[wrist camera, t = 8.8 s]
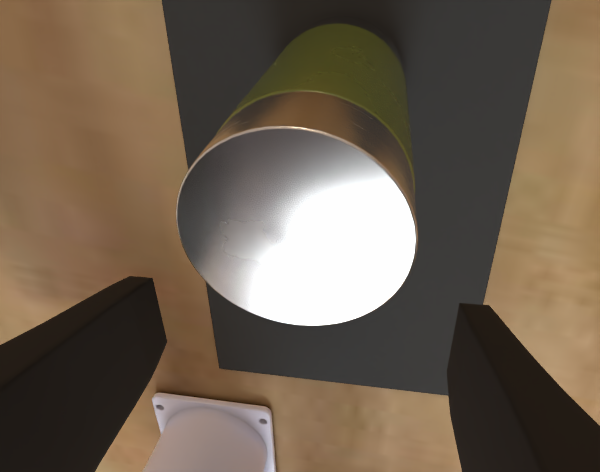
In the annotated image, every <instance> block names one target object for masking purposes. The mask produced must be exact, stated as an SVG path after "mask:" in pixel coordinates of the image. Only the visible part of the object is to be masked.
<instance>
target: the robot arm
mask: <svg viewBox="0 0 600 472" xmlns="http://www.w3.org/2000/svg"><path fill="white" fill-rule="evenodd" d="M166 343H167V339H166V335H165V331H164V326H163V322H162V317H161V313H160V309H159V304H158V300H157V295H156V291H155V287H154V282H153V278H145V277H133V276H129V277H127V278H125V279H123V280H121V281H119V282H117V283H115V284H113V285H111V286H109V287H107V288H105V289H103V290H102V291H100V292H98V293H96V294H94V295H93V296H91V297H89V298H87V299H85V300H84V301H82V302H80V303H78V304H76V305H75V306H73V307H71V308H69V309H68V310H66V311H64V312H62V313H60V314H59V315H57V316H55V317H53V318H51V319H50V320H48V321H46V322H44V323H42V324H40V325H38V326H36V327H35V328H33V329H31V330H29V331H27V332H25V333H23V334H21V335H19V336H17V337H15V338H13V339H11V340H10V341H8V342H6V343H4V344H2V345H0V472H95V470H96V469H97V467H98V465H99V463H100V462H101V460H102V458H103V457H104V455H105V454H106V452H107V450H108V449H109V447H110V445H111V444H112V442H113V441H114V439H115V437H116V436H117V434H118V432H119V431H120V429H121V428H122V426H123V424H124V423H125V421H126V419H127V418H128V416H129V415H130V413H131V411H132V410H133V408H134V406H135V405H136V403H137V401H138V400H139V398H140V396H141V395H142V393H143V391H144V390H145V388H146V386H147V385H148V383H149V381H150V380H151V378H152V375H153V373H154V371H155V369H156V367H157V365H158V362H159V360H160V358H161V355H162V353H163V351H164V348H165V346H166ZM447 383H448V395H449V405H450V415H451V420H452V425H453V430H454V435H455V440H456V444H457V449H458V454H459V459H460V463H461V468H462V472H600V426H599V425H598V424H597V423H596V422H595V421H594V420H593V419H592V418H591V417H590V416H589V415H588V414H587V413H586V412H585V411H584V410H583V409H582V408H581V407H580V406H579V405H578V404H577V403H576V402H575V401H574V400H573V399H572V398H571V397H570V396H569V395H568V394H567V393H566V392H565V391H564V390H563V389H562V388H561V387H560V386H559V385H558V384H557V383H556V381H555V380H554V379H553V378H552V377H551V376H550V375H549V374H548V373H547V372H546V371H545V369H544V368H543V367H542V366H541V365H540V364H539V363H538V362H537V361H536V360H535V358H534V357H533V356H532V355H531V354H530V353H529V352H528V350H527V349H526V348H525V347H524V346H523V345H522V344H521V342H520V341H519V340H518V339H517V338H516V336H515V335H514V334H513V333H512V332H511V331H510V329H509V328H508V327H507V326H506V325H505V323H504V322H503V321H502V320H501V319H500V318H499V316H498V315H497V314H496V313H495V312H494V311H493V309H492V308H491V307H490V306H489V305H478V304H466V303H459V308H458V313H457V318H456V324H455V329H454V335H453V340H452V345H451V351H450V356H449V361H448V367H447ZM152 403H153V406H154V410H155V414H156V417H157V421H158V424H159V428H160V432H161V436H160V438H159V440H158V442H157V444H156V446H155V448H154V450H153V452H152V454H151V456H150V458H149V460H148V462H147V464H146V465H145V467H144V469H143V471H142V472H276V461H275V449H274V437H273V425H272V413H271V410H270V409H269V408H267V407H265V406H259V405H251V404H244V403H236V402H228V401H221V400H213V399H205V398H198V397H190V396H182V395H175V394H167V393H155V395H154V396H153V398H152Z"/></svg>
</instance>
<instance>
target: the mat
mask: <svg viewBox="0 0 600 472" xmlns="http://www.w3.org/2000/svg"><path fill="white" fill-rule="evenodd" d="M162 4H163V11H164V17H165V23H166V30H167V36H168V43H169V49H170V55H171V62H172V68H173V75H174V81H175V87H176V94H177V100H178V107H179V113H180V119H181V126H182V132H183V138H184V145H185V151H186V158H187V164H188V170H189V168H190V167H191V166H192V164H193V163H194V161H195V160H196V159H197V158H198V156H199V155H200V154H201V153H202V151H203V150H204V149H205V148H206V146H207V145H208V144H209V143H210V142H211V140H212V139H213V138H214V137H215V135H216V134H217V132H218V130H219V129H220V128H221V126H222V125H223V123H224V122H225V121H226V120H227V118H228V117H229V116H230V115H231V113H232V112H233V111H234V110H235V109H236V107H237V106H238V105H239V104H240V103H241V101H242V100H243V99H244V98H245V96H246V95H247V94H248V93H249V92H250V90H251V89H252V88H253V87H254V85H255V84H256V83H257V82H258V81H259V79H260V78H261V77H262V76H263V74H264V73H265V72H266V71H267V70H268V68H269V67H270V66H271V65H272V64H273V62H274V61H275V60H276V59H277V57H278V56H279V55H280V54H281V53H282V51H283V50H284V49H285V48H286V47H287V46H288V45H289V44H290V43H291V42H292V41H293V39H294V38H295V37H296V36H297V35H298V34H299V33H300V32H301V31H302V30H303V29H305V28H306V27H307V26H309V25H311V24H312V23H314V22H316V21H319V20H321V19H324V18H328V17H332V16H352V17H357V18H361V19H364V20H366V21H369V22H370V23H372V24H374V25H376V26H377V27H379V28H380V29H381V30H383V31H384V32H385V33H386V34H387V35H388V36H389V37H390V39H391V40H392V41H393V43H394V44H395V46H396V48H397V49H398V51H399V54H400V56H401V59H402V62H403V67H404V74H405V80H406V87H407V98H408V109H409V121H410V132H411V143H412V155H413V166H414V177H415V206H416V218H417V230H418V245H417V252H416V257H415V261H414V264H413V266H412V269H411V271H410V274H409V275H408V277H407V279H406V280H405V282H404V283H403V285H402V286H401V287H400V289H399V290H398V291H397V292H396V293H395V294H394V296H392V297H391V298H390V299H389V300H388V301H387V302H386V303H384V304H383V305H381V306H380V307H378V308H377V309H375V310H374V311H372V312H370V313H368V314H366V315H364V316H362V317H359V318H356V319H353V320H350V321H346V322H342V323H338V324H331V325H323V326H303V325H293V324H286V323H281V322H277V321H273V320H269V319H266V318H263V317H260V316H258V315H255V314H253V313H251V312H248V311H246V310H244V309H242V308H240V307H239V306H237V305H235V304H233V303H232V302H230V301H229V300H227V299H226V298H224V297H223V296H222V295H220V294H219V293H218V292H217V291H215V290H214V289H213V288H212V287H211V286H210V285H209V284H208V283H207V282H206V285H207V292H208V298H209V305H210V311H211V317H212V324H213V330H214V337H215V343H216V349H217V356H218V362H219V368H220V369H228V370H237V371H245V372H253V373H262V374H270V375H279V376H287V377H296V378H304V379H313V380H321V381H330V382H338V383H347V384H355V385H363V386H372V387H380V388H389V389H397V390H406V391H414V392H423V393H431V394H440V395H448V383H447V367H448V361H449V356H450V351H451V345H452V340H453V335H454V329H455V324H456V318H457V313H458V308H459V303H466V304H478V305H483V302H484V297H485V293H486V288H487V284H488V280H489V275H490V271H491V266H492V262H493V257H494V253H495V248H496V244H497V240H498V235H499V231H500V226H501V222H502V217H503V213H504V208H505V204H506V200H507V195H508V191H509V186H510V182H511V177H512V173H513V169H514V164H515V160H516V155H517V151H518V146H519V142H520V137H521V133H522V129H523V124H524V120H525V115H526V111H527V106H528V102H529V97H530V93H531V89H532V84H533V80H534V75H535V71H536V66H537V62H538V57H539V53H540V49H541V44H542V40H543V35H544V31H545V26H546V22H547V17H548V13H549V9H550V4H551V0H162ZM448 396H449V395H448Z"/></svg>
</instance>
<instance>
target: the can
mask: <svg viewBox="0 0 600 472" xmlns="http://www.w3.org/2000/svg"><path fill="white" fill-rule="evenodd" d="M176 222H177V228H178V233H179V237H180V240H181V243H182V246H183V248H184V250H185V252H186V254H187V256H188V258H189V260H190V261H191V263H192V265H193V266H194V268H195V269H196V270H197V272H198V273H199V274H200V275H201V277H202V278H203V279H204V280H205V281H206V282H207V283H208V284H209V285H210V286H211V287H212V288H213V289H214V290H215V291H217V292H218V293H219V294H220V295H222V296H223V297H224V298H226V299H227V300H229V301H230V302H232V303H233V304H235V305H237V306H239V307H240V308H242V309H244V310H246V311H248V312H251V313H253V314H255V315H258V316H260V317H263V318H266V319H269V320H273V321H277V322H281V323H286V324H293V325H303V326H323V325H331V324H338V323H342V322H346V321H350V320H353V319H356V318H359V317H362V316H364V315H366V314H368V313H370V312H372V311H374V310H375V309H377V308H378V307H380V306H381V305H383V304H384V303H386V302H387V301H388V300H389V299H390V298H391V297H392V296H394V294H395V293H396V292H397V291H398V290H399V289H400V287H401V286H402V285H403V283H404V282H405V280H406V279H407V277H408V275H409V274H410V271H411V269H412V266H413V264H414V261H415V257H416V252H417V245H418V230H417V218H416V206H415V177H414V166H413V155H412V143H411V132H410V121H409V109H408V98H407V87H406V80H405V74H404V67H403V62H402V59H401V56H400V54H399V51H398V49H397V48H396V46H395V44H394V43H393V41H392V40H391V39H390V37H389V36H388V35H387V34H386V33H385V32H384V31H383V30H381V29H380V28H379V27H377V26H376V25H374V24H372V23H370V22H369V21H366V20H364V19H361V18H357V17H352V16H332V17H328V18H324V19H321V20H319V21H316V22H314V23H312V24H311V25H309V26H307V27H306V28H305V29H303V30H302V31H301V32H300V33H299V34H298V35H297V36H296V37H295V38H294V39H293V41H292V42H291V43H290V44H289V45H288V46H287V47H286V48H285V49H284V50H283V51H282V53H281V54H280V55H279V56H278V57H277V59H276V60H275V61H274V62H273V64H272V65H271V66H270V67H269V68H268V70H267V71H266V72H265V73H264V74H263V76H262V77H261V78H260V79H259V81H258V82H257V83H256V84H255V85H254V87H253V88H252V89H251V90H250V92H249V93H248V94H247V95H246V96H245V98H244V99H243V100H242V101H241V103H240V104H239V105H238V106H237V107H236V109H235V110H234V111H233V112H232V113H231V115H230V116H229V117H228V118H227V120H226V121H225V122H224V123H223V125H222V126H221V128H220V129H219V130H218V132H217V134H216V135H215V137H214V138H213V139H212V140H211V142H210V143H209V144H208V145H207V146H206V148H205V149H204V150H203V151H202V153H201V154H200V155H199V156H198V158H197V159H196V160H195V161H194V163H193V164H192V166H191V167H190V168H189V170H188V171H187V173H186V175H185V177H184V179H183V181H182V183H181V186H180V190H179V193H178V197H177V205H176Z"/></svg>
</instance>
